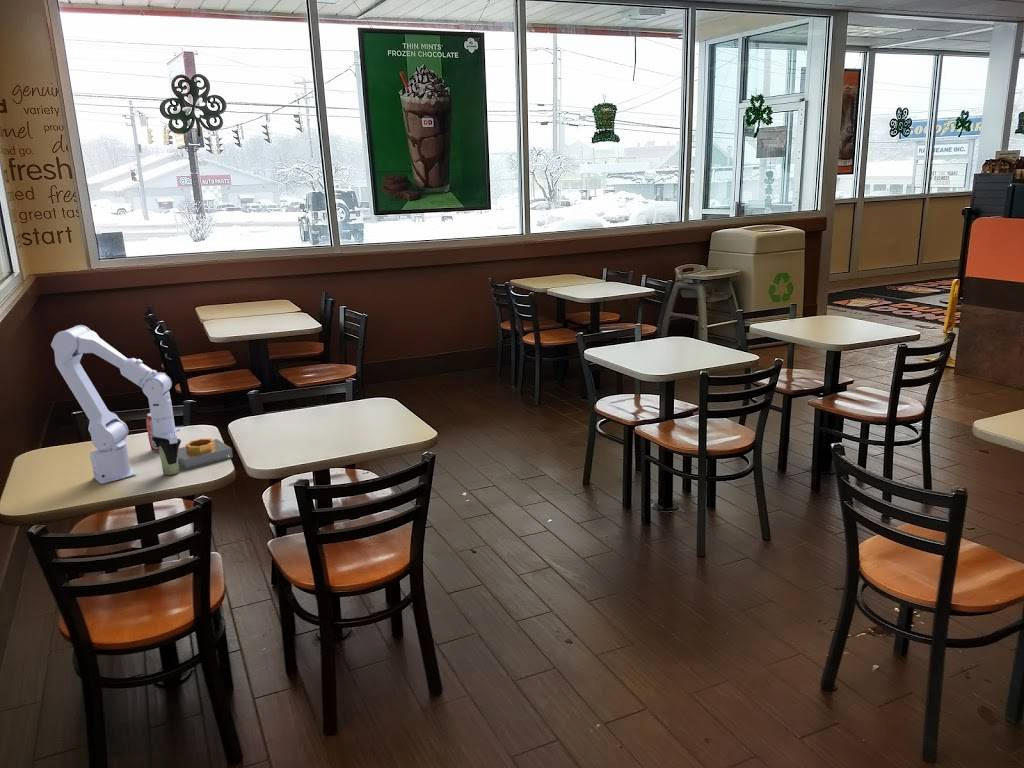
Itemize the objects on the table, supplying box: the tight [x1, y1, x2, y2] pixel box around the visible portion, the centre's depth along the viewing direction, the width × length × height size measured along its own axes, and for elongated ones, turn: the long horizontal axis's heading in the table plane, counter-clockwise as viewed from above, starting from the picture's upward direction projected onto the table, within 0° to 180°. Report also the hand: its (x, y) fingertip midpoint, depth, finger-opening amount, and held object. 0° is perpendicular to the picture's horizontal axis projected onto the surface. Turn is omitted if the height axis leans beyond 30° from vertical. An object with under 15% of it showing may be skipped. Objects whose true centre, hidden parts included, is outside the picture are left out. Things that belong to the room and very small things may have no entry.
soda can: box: [145, 412, 160, 453], centre depth 245 cm, size 7×7×12 cm
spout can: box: [159, 446, 180, 476], centre depth 224 cm, size 4×4×9 cm
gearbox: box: [177, 438, 234, 470], centre depth 237 cm, size 14×15×5 cm
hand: (169, 461), depth 225 cm, fingers closed on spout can, 4 cm apart
